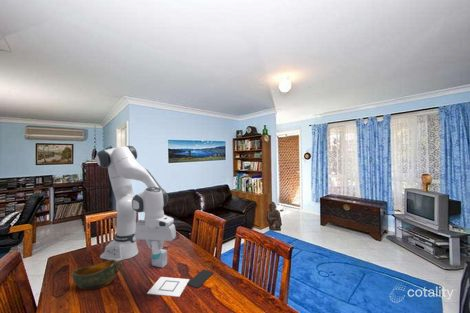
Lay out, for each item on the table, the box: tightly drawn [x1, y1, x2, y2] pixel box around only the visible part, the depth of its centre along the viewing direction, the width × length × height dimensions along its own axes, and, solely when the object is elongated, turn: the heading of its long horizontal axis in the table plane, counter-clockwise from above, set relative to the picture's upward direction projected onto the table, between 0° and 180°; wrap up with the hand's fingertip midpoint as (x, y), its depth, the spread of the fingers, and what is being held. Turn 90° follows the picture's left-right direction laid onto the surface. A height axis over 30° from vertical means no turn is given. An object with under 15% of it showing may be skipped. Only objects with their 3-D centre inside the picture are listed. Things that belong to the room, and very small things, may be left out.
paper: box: [146, 276, 190, 298], centre depth 100 cm, size 16×13×1 cm
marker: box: [150, 240, 161, 260], centre depth 99 cm, size 4×4×10 cm
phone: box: [186, 269, 214, 289], centre depth 107 cm, size 7×1×15 cm
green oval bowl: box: [71, 260, 124, 290], centre depth 102 cm, size 13×20×10 cm, turn 79°
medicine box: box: [151, 248, 168, 269], centre depth 120 cm, size 8×4×9 cm, turn 71°
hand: (155, 248), depth 99 cm, fingers closed on marker, 4 cm apart
